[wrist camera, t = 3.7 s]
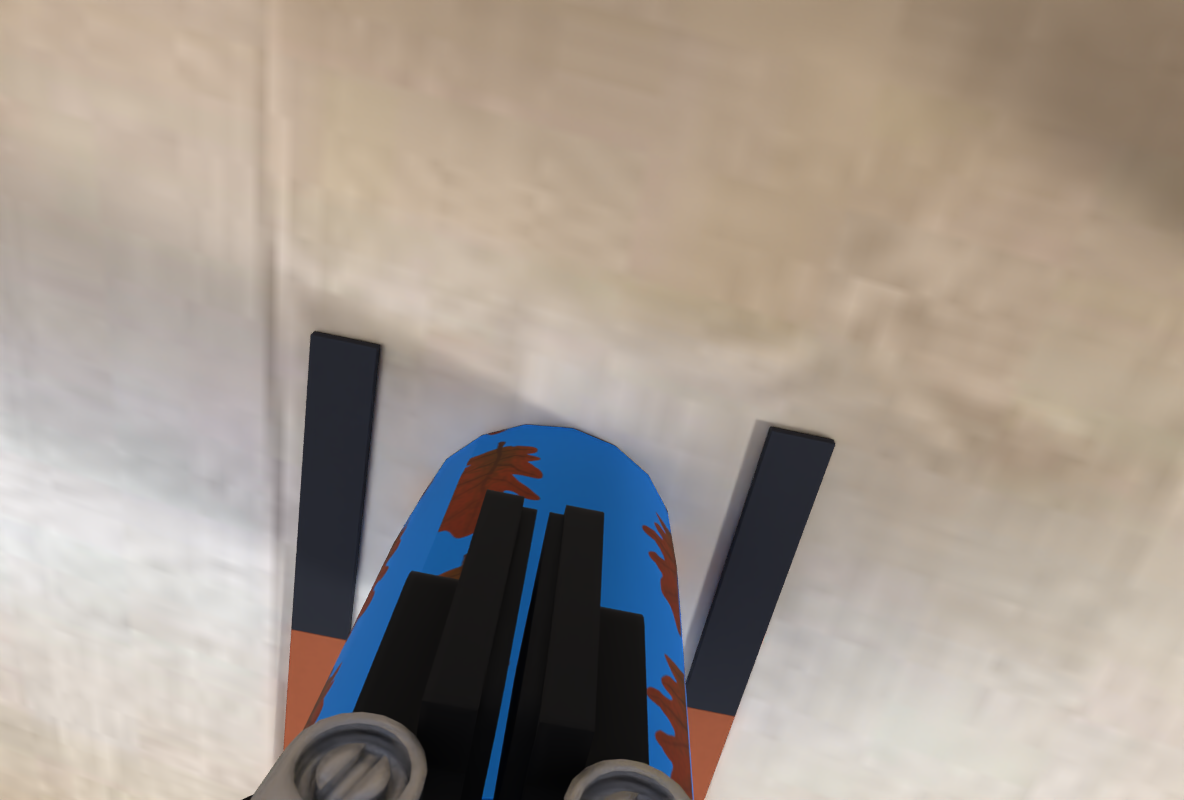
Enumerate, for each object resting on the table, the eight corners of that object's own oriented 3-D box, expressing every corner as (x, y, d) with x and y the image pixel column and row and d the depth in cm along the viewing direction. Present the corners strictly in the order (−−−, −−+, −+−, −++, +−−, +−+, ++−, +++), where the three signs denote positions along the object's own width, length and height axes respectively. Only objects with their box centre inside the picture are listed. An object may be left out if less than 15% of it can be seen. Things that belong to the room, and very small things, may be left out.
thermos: (380, 587, 35) (-101, 1609, 12) (464, 378, 31) (-29, 1337, 8) (611, 674, 36) (564, 1747, 14) (722, 485, 32) (924, 1575, 9)
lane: (314, 330, 30) (310, 334, 30) (833, 439, 31) (835, 444, 31) (282, 810, 41) (278, 817, 41) (670, 883, 42) (670, 890, 41)
